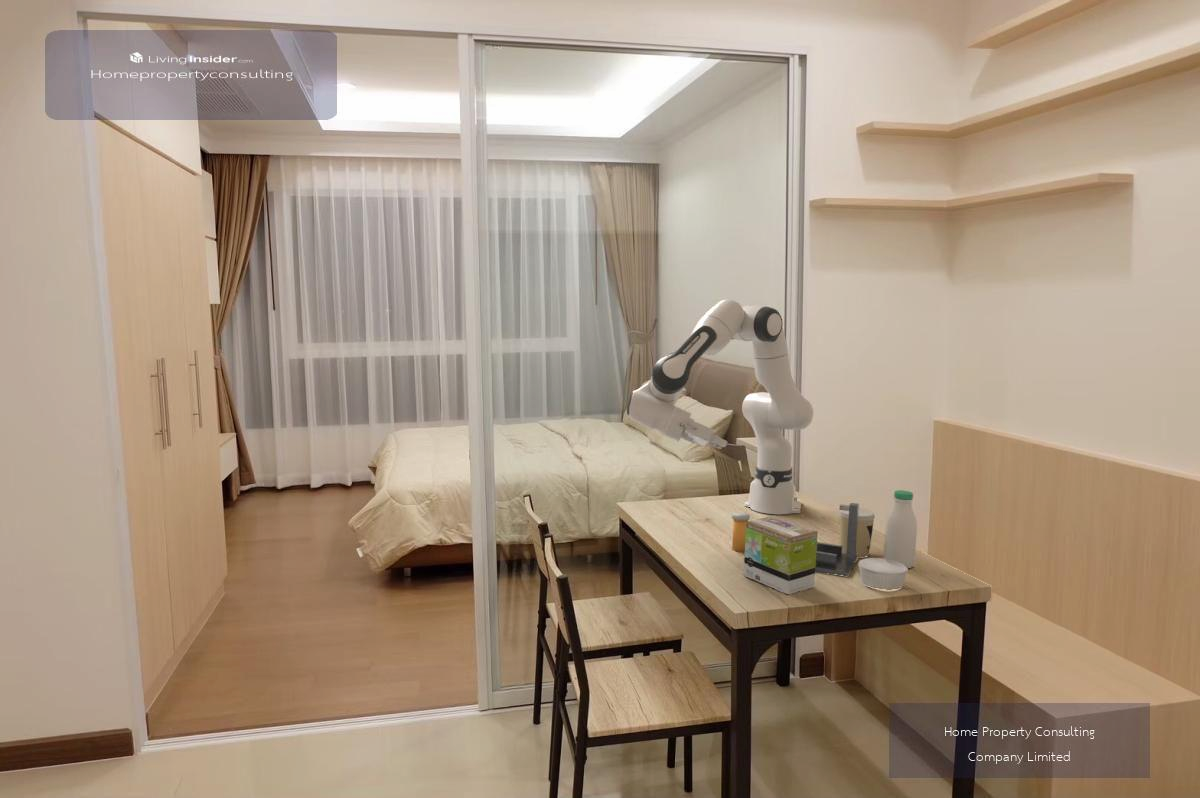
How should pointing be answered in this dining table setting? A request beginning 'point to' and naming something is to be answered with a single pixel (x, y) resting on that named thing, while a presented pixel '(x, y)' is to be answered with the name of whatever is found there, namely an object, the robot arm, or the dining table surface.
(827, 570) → the keeper stand
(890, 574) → the ramekin
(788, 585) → the tea box
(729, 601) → the dining table surface
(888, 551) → the milk bottle
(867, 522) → the coffee cup
